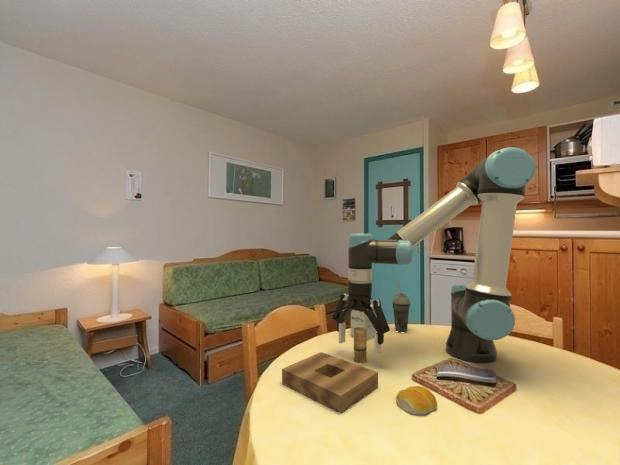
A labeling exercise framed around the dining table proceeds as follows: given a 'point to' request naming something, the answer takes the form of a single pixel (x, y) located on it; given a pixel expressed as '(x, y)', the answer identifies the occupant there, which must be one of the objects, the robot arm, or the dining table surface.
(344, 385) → the board
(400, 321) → the beverage cup
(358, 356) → the dowel
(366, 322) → the supplement box
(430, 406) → the bread roll
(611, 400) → the dining table surface
